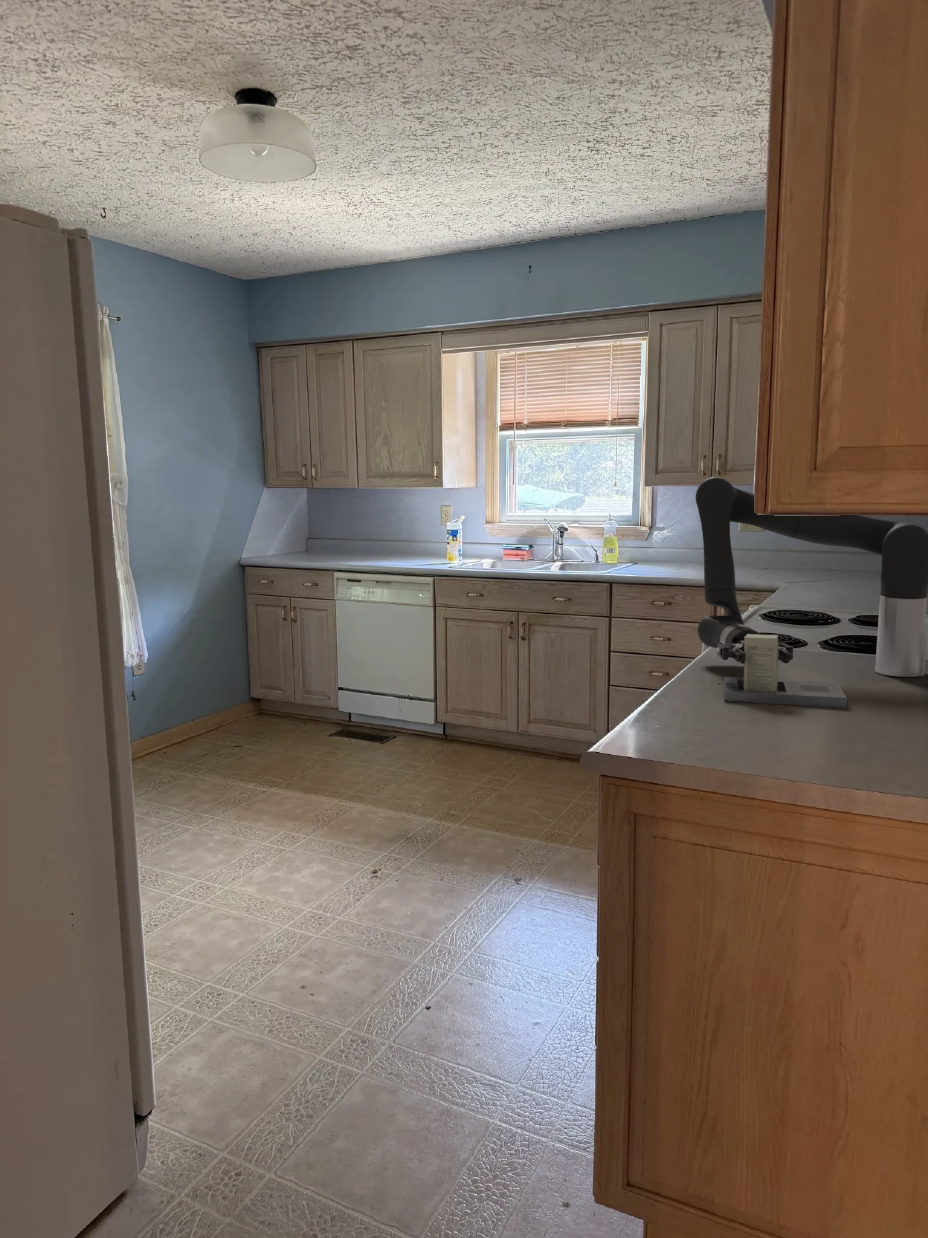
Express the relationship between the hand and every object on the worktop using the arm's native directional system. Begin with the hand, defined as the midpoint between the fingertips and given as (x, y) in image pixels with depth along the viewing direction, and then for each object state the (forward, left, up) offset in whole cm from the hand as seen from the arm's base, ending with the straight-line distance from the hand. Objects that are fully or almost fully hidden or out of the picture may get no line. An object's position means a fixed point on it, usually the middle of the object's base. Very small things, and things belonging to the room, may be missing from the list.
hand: (765, 658), depth 166 cm
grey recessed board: (-4, -2, -8) cm, 9 cm away
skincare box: (+1, -2, -8) cm, 8 cm away
